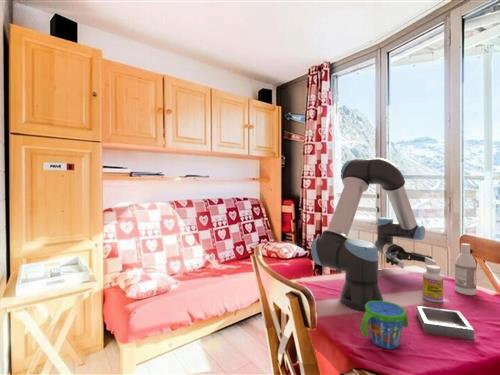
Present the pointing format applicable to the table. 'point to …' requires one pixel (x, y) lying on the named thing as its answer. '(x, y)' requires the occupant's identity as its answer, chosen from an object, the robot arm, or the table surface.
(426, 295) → the supplement bottle
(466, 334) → the grey square tray
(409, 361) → the table surface
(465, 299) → the table surface
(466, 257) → the bath foam
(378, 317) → the snack cup
